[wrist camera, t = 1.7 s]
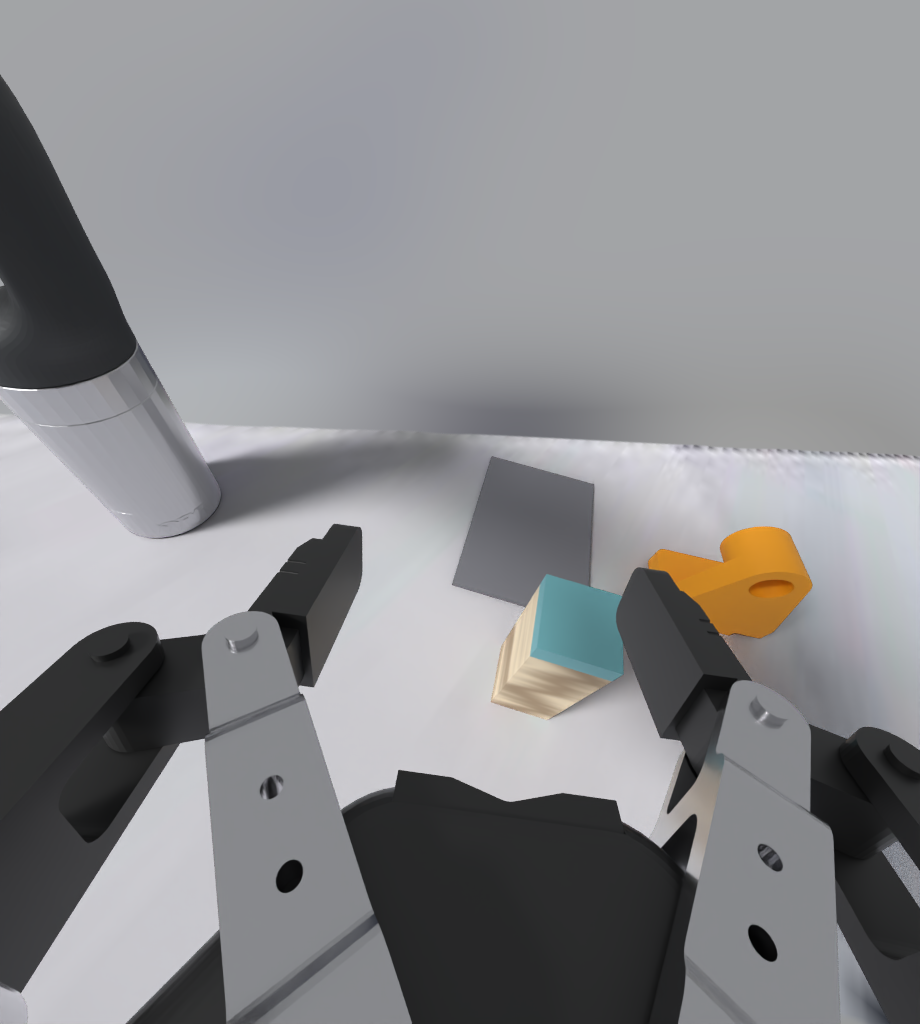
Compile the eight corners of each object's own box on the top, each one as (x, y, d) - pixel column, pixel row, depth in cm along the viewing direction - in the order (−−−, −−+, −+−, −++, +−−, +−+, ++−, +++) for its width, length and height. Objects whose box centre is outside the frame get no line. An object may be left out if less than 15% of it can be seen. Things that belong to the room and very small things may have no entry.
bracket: (734, 580, 44) (826, 518, 34) (753, 641, 39) (864, 589, 30) (643, 559, 44) (709, 492, 35) (651, 617, 39) (729, 558, 30)
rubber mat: (585, 624, 38) (586, 623, 37) (452, 584, 39) (452, 583, 38) (592, 486, 50) (593, 484, 50) (491, 458, 51) (491, 456, 51)
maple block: (490, 702, 32) (536, 647, 21) (501, 646, 35) (546, 574, 25) (547, 720, 32) (623, 674, 21) (553, 661, 35) (622, 596, 24)
